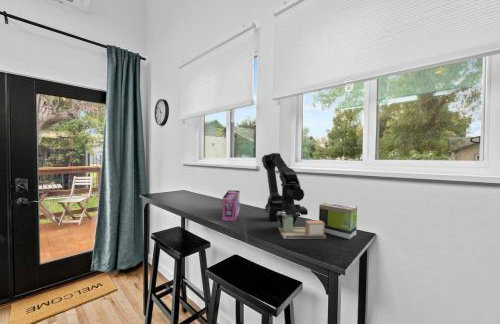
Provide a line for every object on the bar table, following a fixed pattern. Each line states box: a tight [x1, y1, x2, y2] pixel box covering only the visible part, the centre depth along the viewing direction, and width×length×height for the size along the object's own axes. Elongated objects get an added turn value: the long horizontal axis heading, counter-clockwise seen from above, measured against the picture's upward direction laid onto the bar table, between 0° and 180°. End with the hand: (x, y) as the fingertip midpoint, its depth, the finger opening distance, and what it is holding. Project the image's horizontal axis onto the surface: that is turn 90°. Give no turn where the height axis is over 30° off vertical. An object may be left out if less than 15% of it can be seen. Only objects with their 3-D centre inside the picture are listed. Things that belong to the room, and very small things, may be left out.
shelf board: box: [277, 226, 327, 240], centre depth 106 cm, size 15×19×3 cm
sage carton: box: [281, 213, 294, 232], centre depth 109 cm, size 4×8×6 cm, turn 4°
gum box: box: [221, 190, 240, 222], centre depth 136 cm, size 24×8×14 cm, turn 177°
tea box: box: [318, 201, 358, 240], centre depth 107 cm, size 15×10×15 cm, turn 48°
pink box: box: [304, 220, 325, 235], centre depth 102 cm, size 4×8×6 cm, turn 94°
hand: (286, 227), depth 109 cm, fingers open, 5 cm apart
